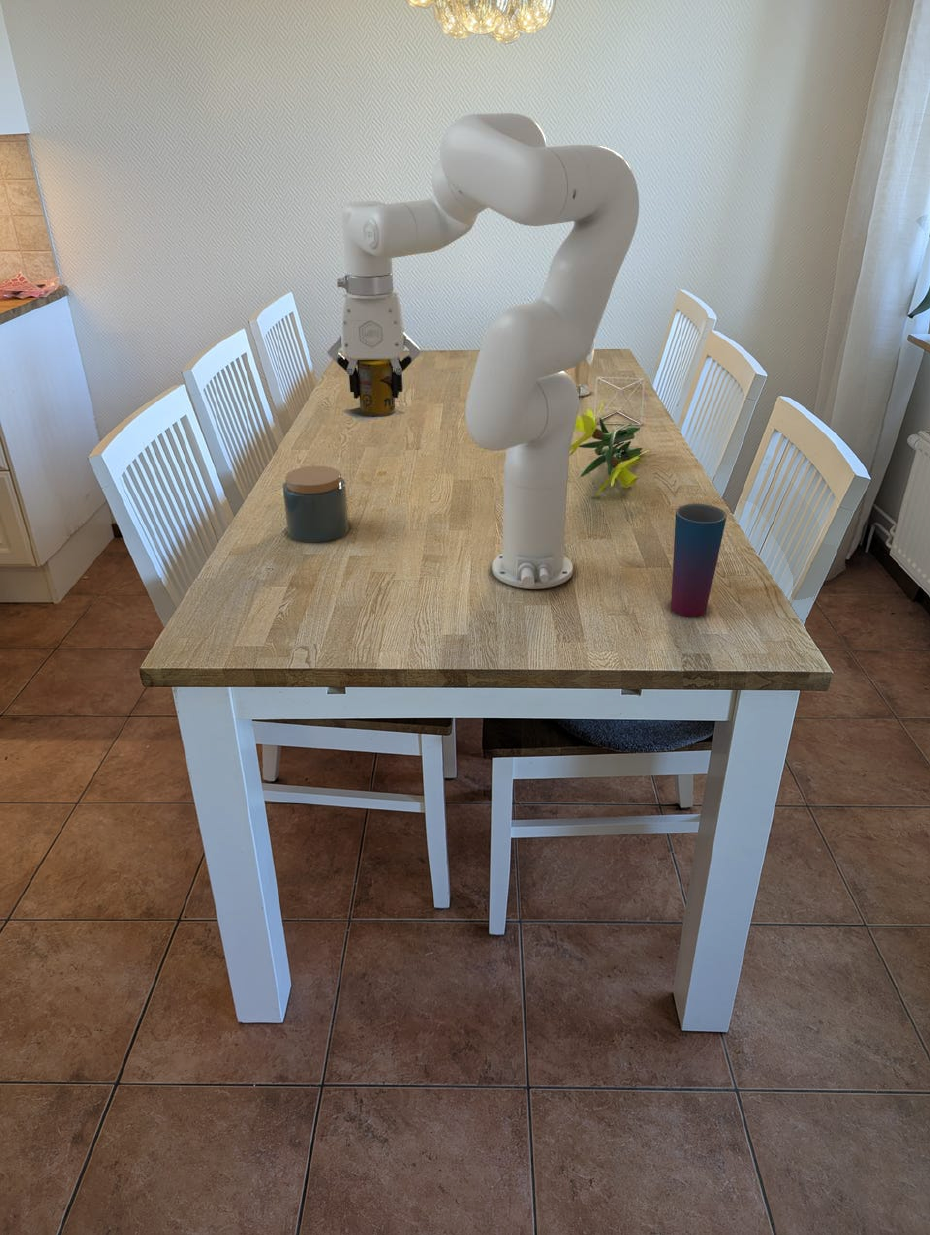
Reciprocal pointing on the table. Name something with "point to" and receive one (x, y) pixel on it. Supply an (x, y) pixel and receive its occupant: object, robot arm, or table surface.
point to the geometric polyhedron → (616, 395)
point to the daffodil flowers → (611, 454)
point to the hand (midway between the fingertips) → (376, 395)
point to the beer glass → (582, 373)
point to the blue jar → (315, 504)
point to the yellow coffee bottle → (374, 391)
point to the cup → (695, 556)
